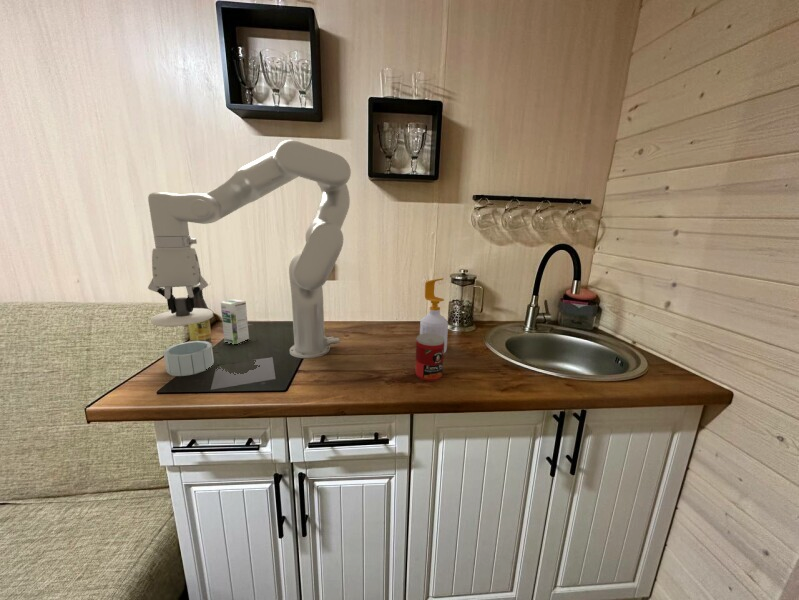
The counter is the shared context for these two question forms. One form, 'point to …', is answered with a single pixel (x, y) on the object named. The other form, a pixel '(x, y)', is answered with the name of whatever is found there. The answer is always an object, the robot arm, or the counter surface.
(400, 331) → the counter surface
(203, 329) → the sauce bottle
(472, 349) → the counter surface
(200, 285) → the robot arm
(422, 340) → the canned food
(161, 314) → the lid
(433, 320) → the soap bottle
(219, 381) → the mat
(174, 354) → the bowl
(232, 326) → the syrup box
